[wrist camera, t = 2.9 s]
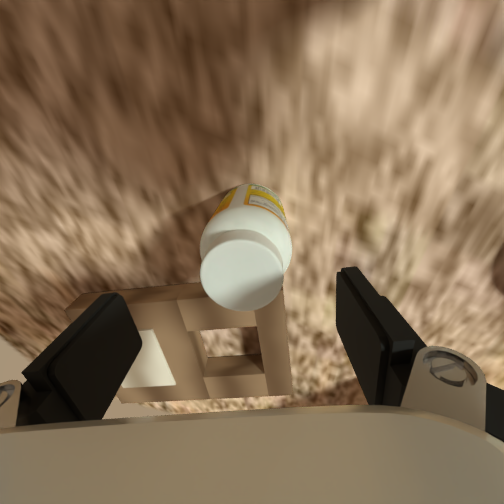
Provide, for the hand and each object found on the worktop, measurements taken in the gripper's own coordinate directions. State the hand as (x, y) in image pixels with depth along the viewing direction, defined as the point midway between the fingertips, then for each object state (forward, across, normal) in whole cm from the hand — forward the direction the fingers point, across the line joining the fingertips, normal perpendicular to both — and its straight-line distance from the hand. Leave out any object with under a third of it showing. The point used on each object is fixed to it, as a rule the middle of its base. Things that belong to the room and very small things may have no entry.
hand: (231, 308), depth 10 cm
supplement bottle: (+11, -1, -1) cm, 11 cm away
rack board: (+11, +7, +12) cm, 18 cm away
